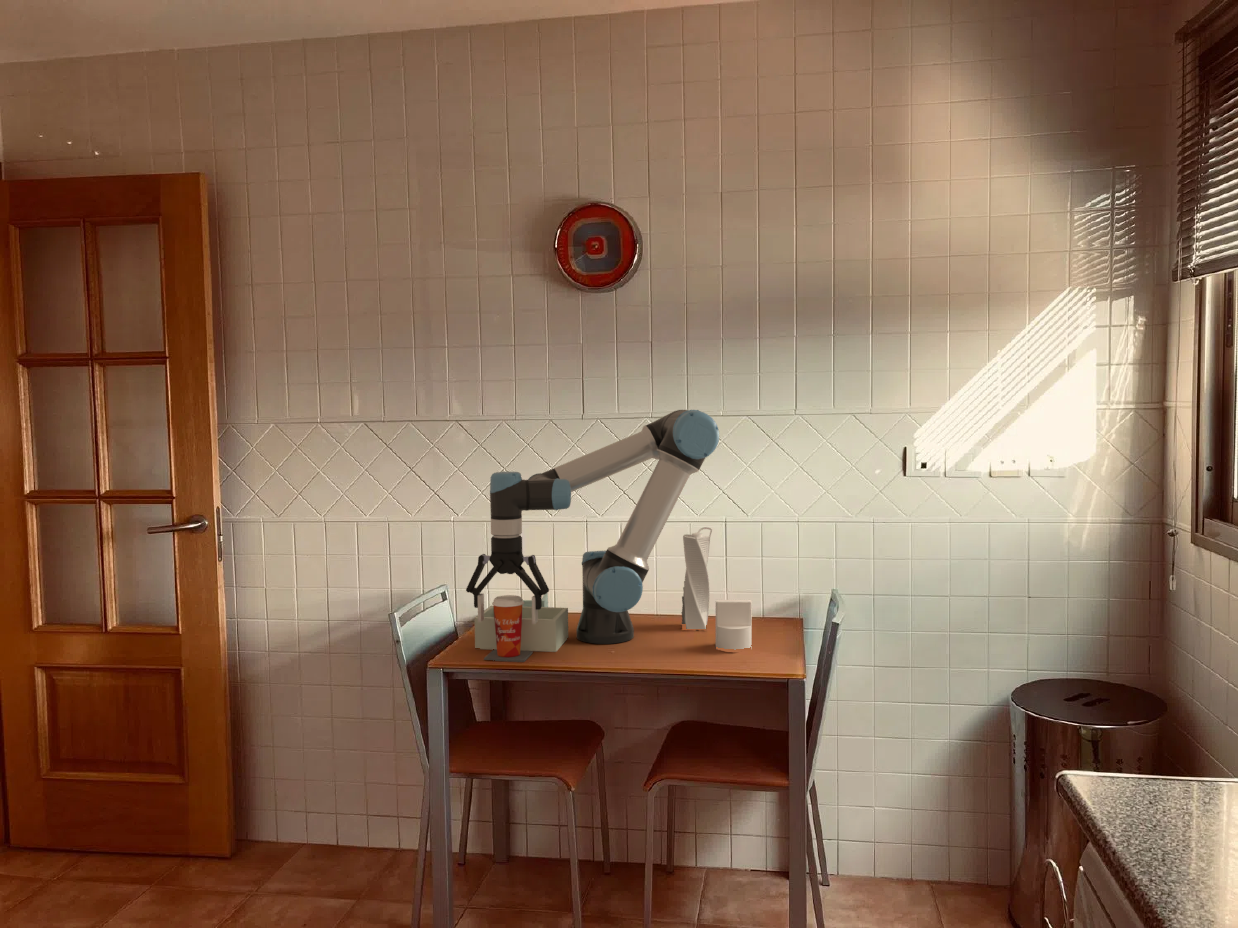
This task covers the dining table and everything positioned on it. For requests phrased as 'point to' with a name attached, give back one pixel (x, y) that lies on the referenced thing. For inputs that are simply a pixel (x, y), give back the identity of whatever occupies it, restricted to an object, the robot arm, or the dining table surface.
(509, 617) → the paper cup
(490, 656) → the mat
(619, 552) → the robot arm
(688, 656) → the dining table surface
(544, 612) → the crate
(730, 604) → the base with upright slab
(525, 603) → the l-shaped corner panel
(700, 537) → the skyscraper
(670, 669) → the dining table surface
